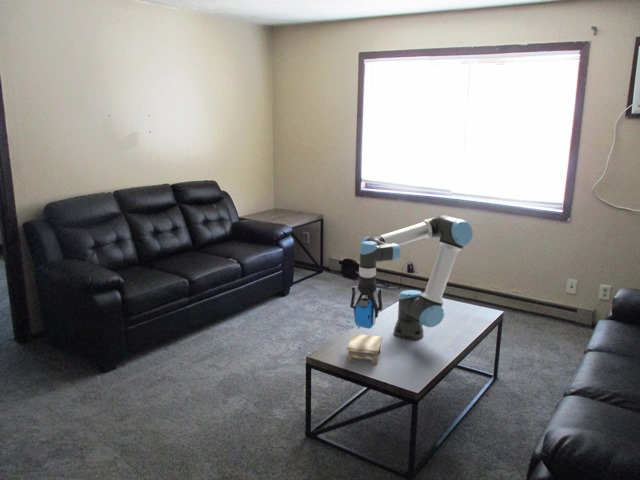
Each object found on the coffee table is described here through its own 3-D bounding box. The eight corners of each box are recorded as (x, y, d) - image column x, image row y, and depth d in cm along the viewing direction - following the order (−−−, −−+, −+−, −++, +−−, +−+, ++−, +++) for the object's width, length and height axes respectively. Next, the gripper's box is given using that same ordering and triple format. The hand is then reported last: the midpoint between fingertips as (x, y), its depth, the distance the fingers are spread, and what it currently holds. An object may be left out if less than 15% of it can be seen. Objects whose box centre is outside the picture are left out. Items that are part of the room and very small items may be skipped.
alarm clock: (365, 321, 255) (366, 291, 252) (377, 323, 252) (378, 293, 249) (353, 330, 244) (354, 299, 240) (366, 333, 241) (367, 301, 238)
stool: (381, 351, 258) (382, 336, 256) (377, 366, 242) (378, 350, 241) (352, 347, 261) (353, 333, 259) (346, 362, 246) (347, 347, 244)
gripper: (390, 274, 244) (388, 322, 249) (347, 271, 248) (345, 317, 253) (388, 279, 236) (386, 328, 242) (344, 276, 241) (342, 323, 246)
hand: (365, 322), depth 248 cm, fingers closed on alarm clock, 7 cm apart
